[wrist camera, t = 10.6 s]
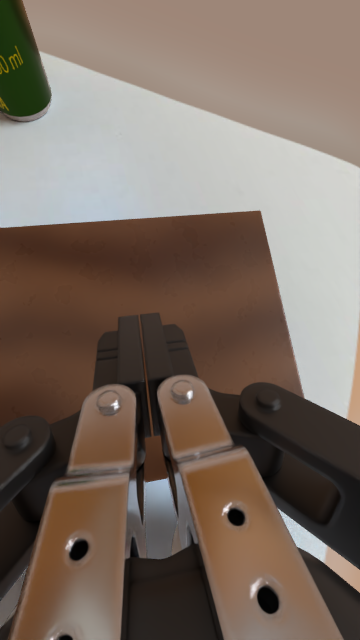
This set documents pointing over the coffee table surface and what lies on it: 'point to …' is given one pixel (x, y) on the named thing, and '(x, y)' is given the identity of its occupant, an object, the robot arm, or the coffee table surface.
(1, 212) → the coffee table surface
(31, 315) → the lid
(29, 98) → the beer can
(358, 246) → the coffee table surface
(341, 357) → the coffee table surface
